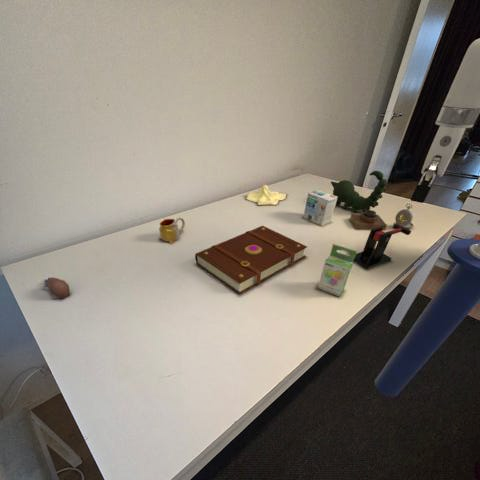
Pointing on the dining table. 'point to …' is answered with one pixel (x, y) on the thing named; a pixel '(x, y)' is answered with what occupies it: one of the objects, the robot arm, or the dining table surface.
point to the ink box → (336, 270)
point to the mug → (170, 229)
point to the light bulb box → (320, 207)
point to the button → (370, 213)
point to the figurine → (57, 287)
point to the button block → (367, 221)
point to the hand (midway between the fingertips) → (419, 195)
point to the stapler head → (393, 231)
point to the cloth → (265, 196)
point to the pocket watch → (404, 218)
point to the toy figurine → (353, 199)
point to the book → (250, 258)
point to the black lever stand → (374, 250)
